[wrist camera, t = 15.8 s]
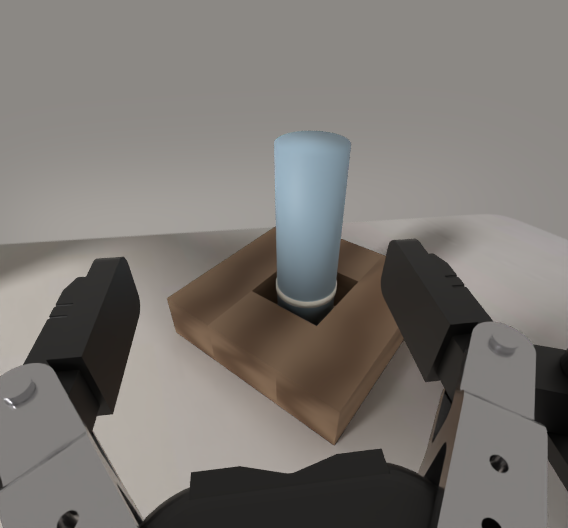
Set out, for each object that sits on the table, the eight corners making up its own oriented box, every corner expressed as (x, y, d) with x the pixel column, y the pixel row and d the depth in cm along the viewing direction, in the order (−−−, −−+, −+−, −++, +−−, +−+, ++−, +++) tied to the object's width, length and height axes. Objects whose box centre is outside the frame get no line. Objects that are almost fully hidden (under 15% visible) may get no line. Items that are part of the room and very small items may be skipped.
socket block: (176, 332, 31) (167, 298, 29) (287, 248, 41) (287, 218, 39) (334, 445, 23) (339, 412, 21) (424, 308, 33) (434, 274, 31)
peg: (265, 324, 32) (256, 145, 22) (298, 294, 35) (302, 125, 25) (312, 352, 29) (324, 163, 20) (342, 317, 32) (367, 139, 23)
